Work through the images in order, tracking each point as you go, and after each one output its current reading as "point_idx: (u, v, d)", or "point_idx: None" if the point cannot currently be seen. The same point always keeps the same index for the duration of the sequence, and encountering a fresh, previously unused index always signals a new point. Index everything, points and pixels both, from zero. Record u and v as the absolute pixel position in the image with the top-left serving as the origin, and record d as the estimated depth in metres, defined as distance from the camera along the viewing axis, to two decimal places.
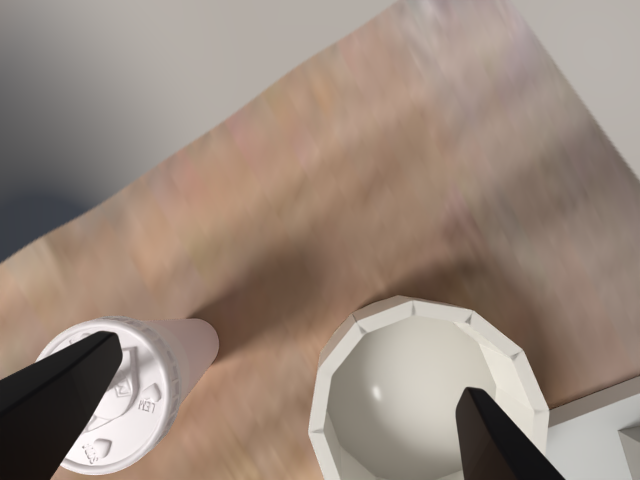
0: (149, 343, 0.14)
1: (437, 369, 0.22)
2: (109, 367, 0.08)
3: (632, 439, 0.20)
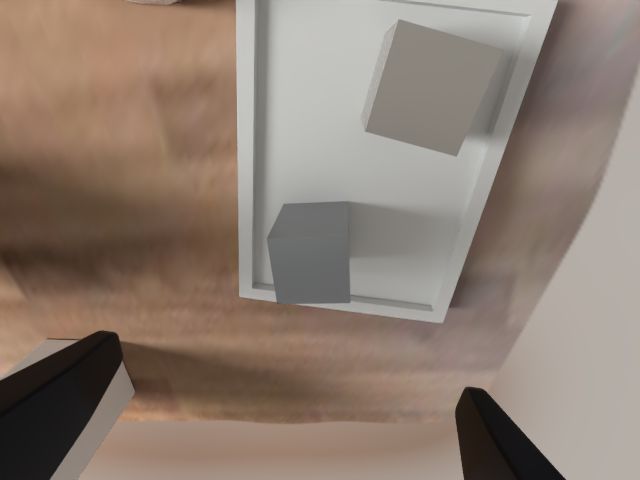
0: None
1: None
2: (109, 367, 0.08)
3: (387, 31, 0.14)
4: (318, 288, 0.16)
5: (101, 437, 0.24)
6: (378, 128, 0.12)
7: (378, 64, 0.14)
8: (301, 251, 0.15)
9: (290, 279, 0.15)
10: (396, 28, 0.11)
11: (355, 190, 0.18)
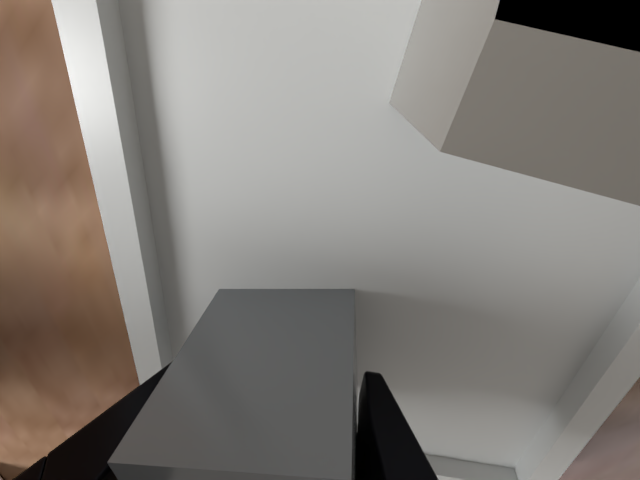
0: None
1: None
2: None
3: None
4: None
5: None
6: (515, 136, 0.02)
7: None
8: None
9: None
10: None
11: (373, 268, 0.08)
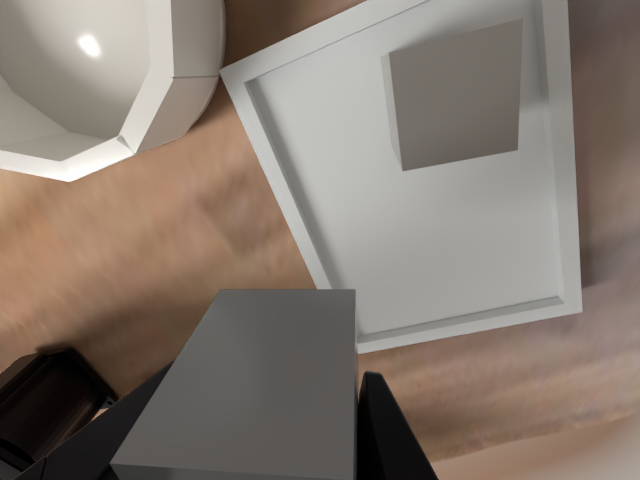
0: None
1: None
2: None
3: (382, 57, 0.13)
4: None
5: None
6: (415, 162, 0.11)
7: (387, 92, 0.13)
8: None
9: None
10: (390, 61, 0.10)
11: (418, 214, 0.16)
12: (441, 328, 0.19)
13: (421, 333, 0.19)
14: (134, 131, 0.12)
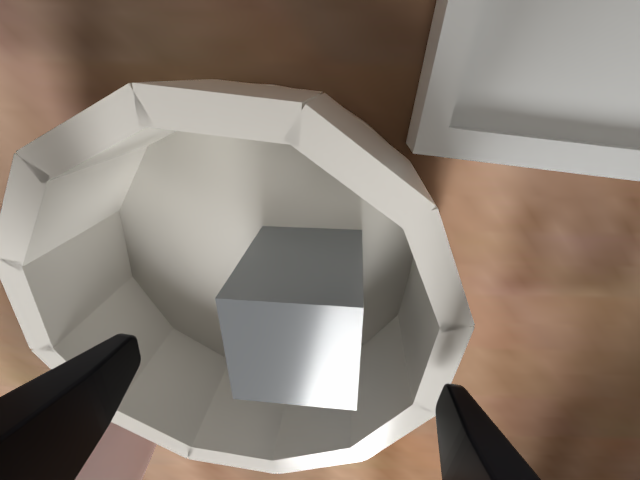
0: None
1: (241, 206, 0.12)
2: (128, 370, 0.08)
3: None
4: (302, 383, 0.09)
5: None
6: None
7: None
8: (276, 325, 0.08)
9: (256, 365, 0.09)
10: None
11: None
12: None
13: None
14: (451, 306, 0.08)
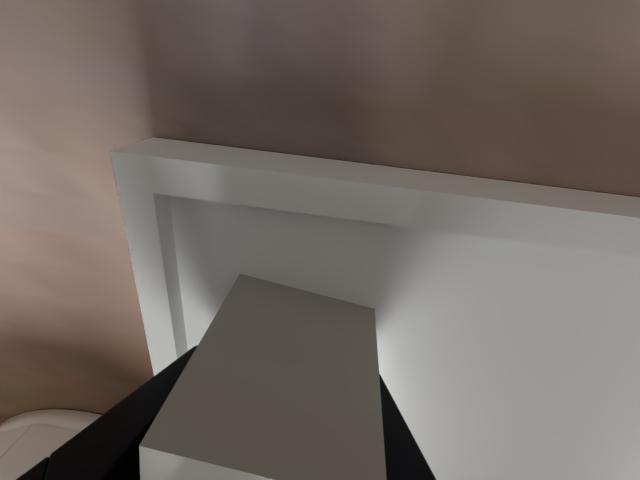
0: None
1: None
2: None
3: None
4: None
5: None
6: None
7: None
8: None
9: None
10: None
11: (462, 408, 0.10)
12: None
13: None
14: None
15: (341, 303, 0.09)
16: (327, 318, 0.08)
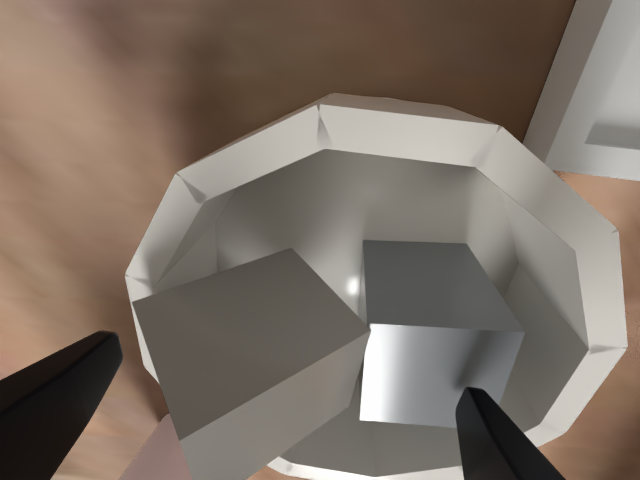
0: None
1: (343, 219, 0.11)
2: (109, 367, 0.08)
3: None
4: (439, 404, 0.09)
5: None
6: None
7: None
8: (426, 348, 0.08)
9: (393, 388, 0.09)
10: None
11: None
12: None
13: None
14: (608, 327, 0.08)
15: (347, 308, 0.08)
16: (313, 310, 0.08)
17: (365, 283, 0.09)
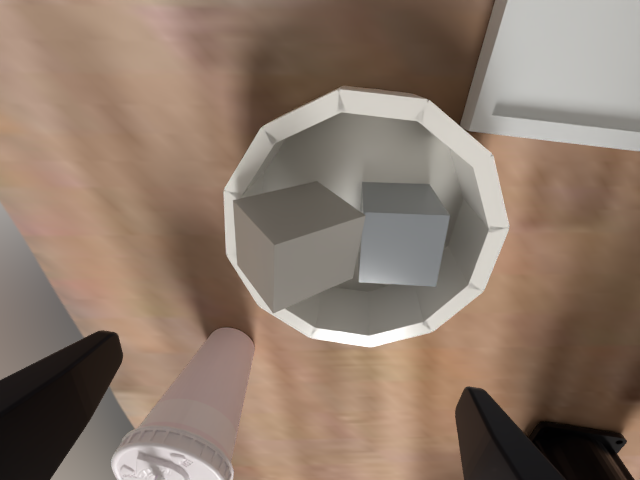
0: (138, 445, 0.16)
1: (349, 168, 0.18)
2: (109, 367, 0.08)
3: None
4: (405, 268, 0.15)
5: None
6: (270, 302, 0.14)
7: None
8: (397, 228, 0.14)
9: (378, 257, 0.15)
10: (240, 266, 0.16)
11: None
12: None
13: None
14: (497, 214, 0.14)
15: (352, 208, 0.15)
16: (333, 207, 0.14)
17: (363, 199, 0.16)
